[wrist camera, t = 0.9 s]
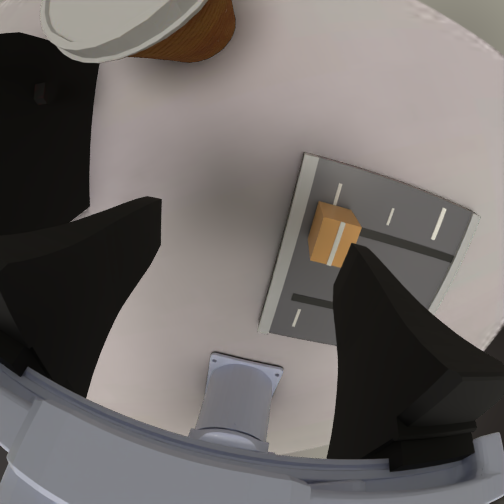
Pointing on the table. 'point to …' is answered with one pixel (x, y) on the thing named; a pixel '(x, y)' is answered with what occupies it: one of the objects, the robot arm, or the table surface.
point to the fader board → (363, 244)
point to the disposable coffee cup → (138, 28)
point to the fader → (332, 234)
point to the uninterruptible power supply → (43, 134)
